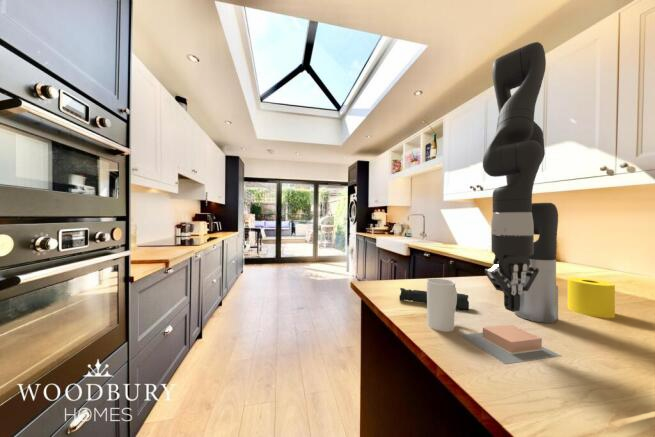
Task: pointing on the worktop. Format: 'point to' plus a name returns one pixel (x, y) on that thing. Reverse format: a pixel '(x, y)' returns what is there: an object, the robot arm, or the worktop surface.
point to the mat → (503, 355)
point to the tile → (512, 339)
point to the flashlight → (422, 298)
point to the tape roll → (591, 297)
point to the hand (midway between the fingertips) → (512, 310)
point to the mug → (441, 304)
